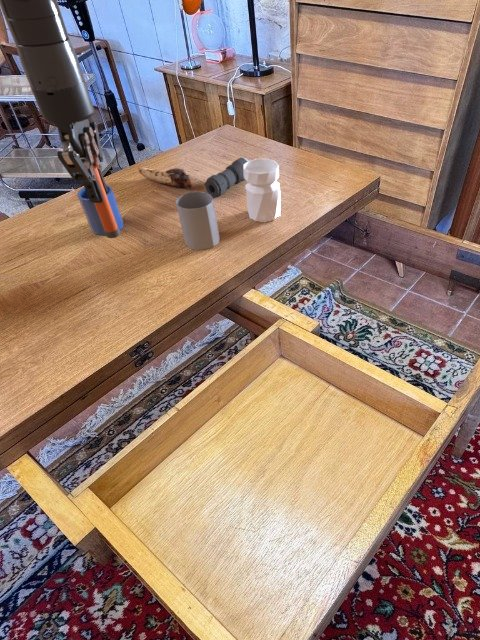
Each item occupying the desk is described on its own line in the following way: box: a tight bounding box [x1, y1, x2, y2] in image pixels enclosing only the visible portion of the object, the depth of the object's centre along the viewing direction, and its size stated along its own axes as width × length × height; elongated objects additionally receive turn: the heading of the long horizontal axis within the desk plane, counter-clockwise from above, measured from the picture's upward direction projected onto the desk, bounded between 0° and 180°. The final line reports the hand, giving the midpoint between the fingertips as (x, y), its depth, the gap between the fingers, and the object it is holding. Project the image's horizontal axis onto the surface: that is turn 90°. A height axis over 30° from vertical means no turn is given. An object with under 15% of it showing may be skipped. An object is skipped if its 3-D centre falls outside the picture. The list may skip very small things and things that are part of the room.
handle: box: [85, 165, 121, 239], centre depth 78 cm, size 3×3×12 cm
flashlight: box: [204, 156, 249, 198], centre depth 123 cm, size 15×5×5 cm, turn 148°
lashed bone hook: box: [138, 166, 193, 188], centre depth 127 cm, size 9×5×18 cm
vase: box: [243, 158, 282, 223], centre depth 111 cm, size 9×9×12 cm
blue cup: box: [76, 184, 125, 236], centre depth 109 cm, size 8×8×9 cm
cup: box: [175, 191, 221, 251], centre depth 104 cm, size 8×8×10 cm
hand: (99, 197), depth 77 cm, fingers closed on handle, 2 cm apart
